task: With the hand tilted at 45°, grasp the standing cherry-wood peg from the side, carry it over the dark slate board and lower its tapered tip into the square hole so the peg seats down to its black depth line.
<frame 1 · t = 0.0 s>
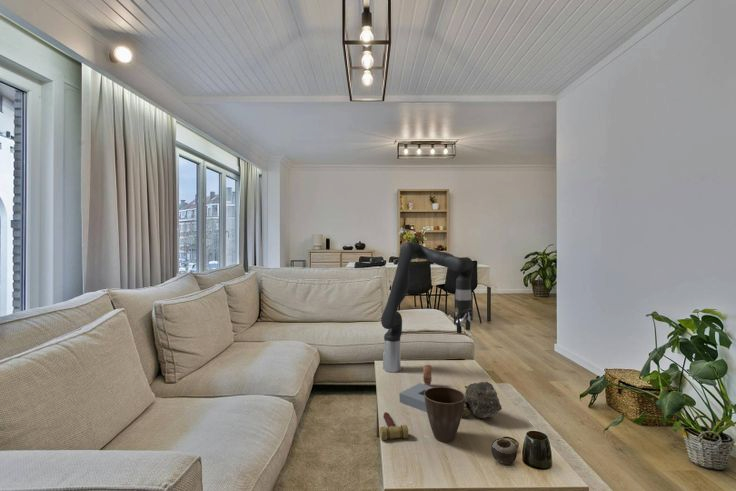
hand: (463, 331, 177), 29 cm above the table, tool pointing down, fingers open, 8 cm apart
cherry peg: (427, 385, 185), on the table
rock: (473, 415, 153), on the table
plant pot: (444, 437, 137), on the table
gavel: (389, 428, 145), on the table
slate socket board: (425, 402, 166), on the table
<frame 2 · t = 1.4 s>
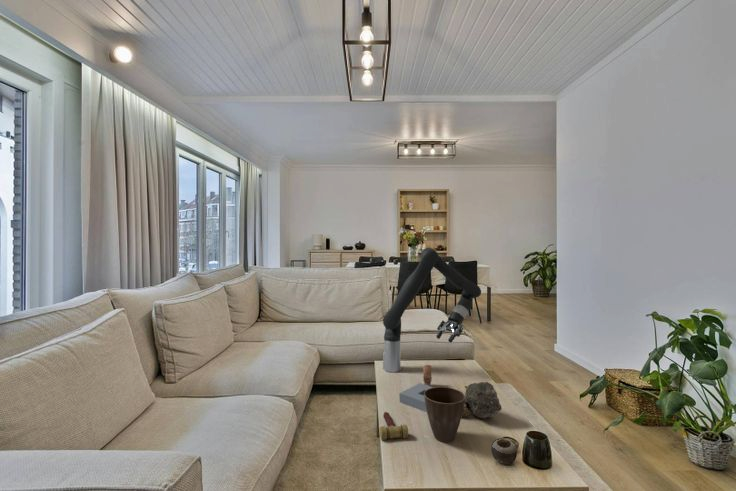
hand: (443, 339, 191), 22 cm above the table, tool tilted 45°, fingers open, 8 cm apart
nothing on the table moved.
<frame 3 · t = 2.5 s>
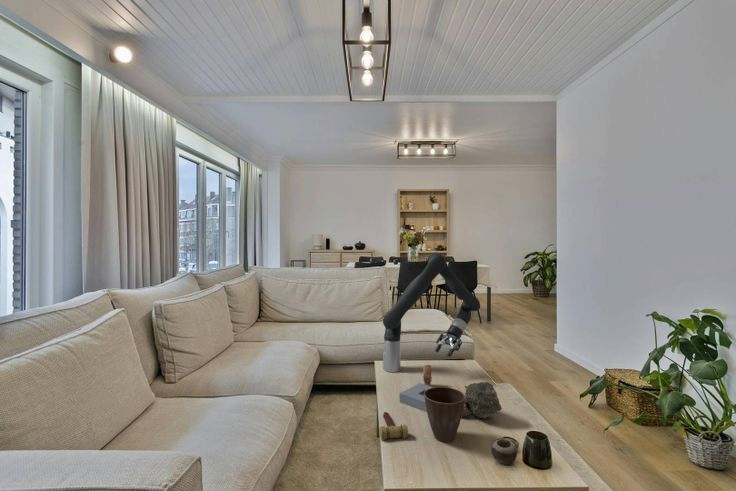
hand: (442, 353, 191), 14 cm above the table, tool tilted 45°, fingers open, 8 cm apart
nothing on the table moved.
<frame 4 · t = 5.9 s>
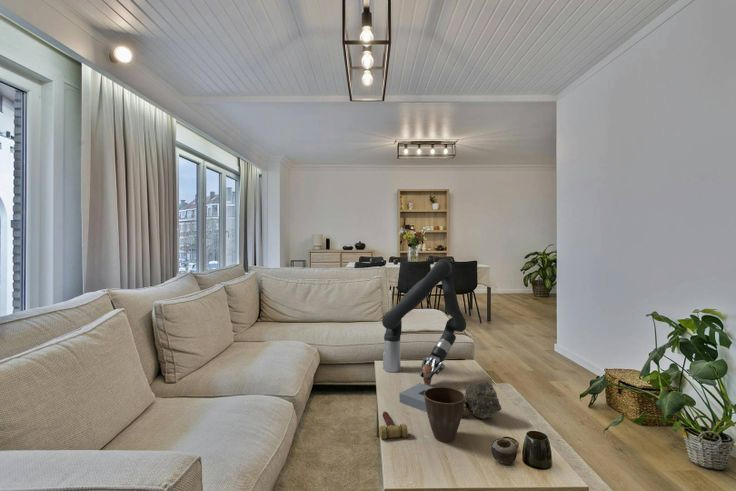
hand: (424, 377, 184), 5 cm above the table, tool tilted 45°, fingers closed on cherry peg, 4 cm apart
cherry peg: (427, 385, 185), on the table, touching gripper
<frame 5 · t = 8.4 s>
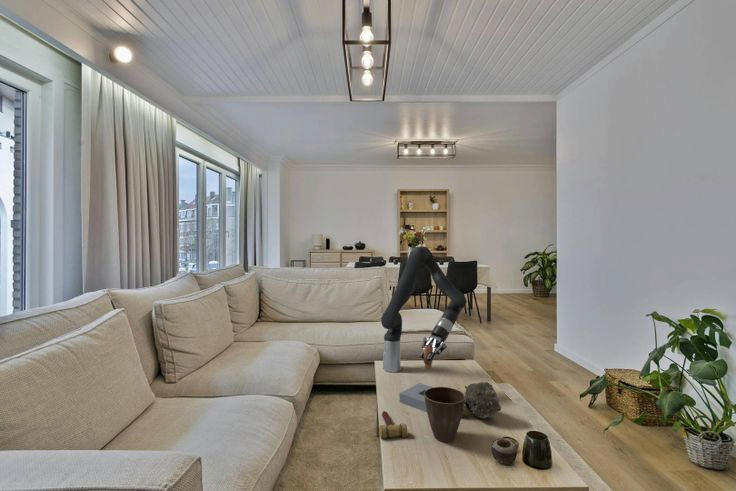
hand: (425, 358, 171), 18 cm above the table, tool tilted 45°, fingers closed on cherry peg, 4 cm apart
cherry peg: (428, 367, 172), point 14 cm above the table, touching gripper
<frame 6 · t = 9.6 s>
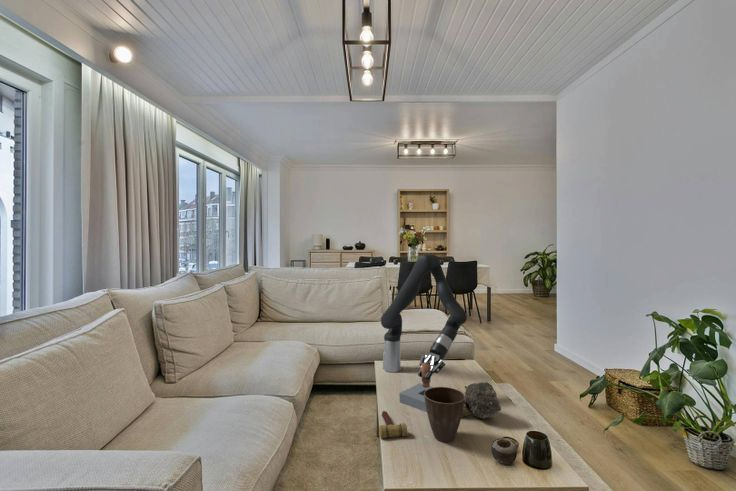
hand: (422, 377, 165), 12 cm above the table, tool tilted 45°, fingers closed on cherry peg, 4 cm apart
cherry peg: (426, 386, 166), point 7 cm above the table, touching gripper
when the fingers open (7 cm above the table, at t = 10.8 s): cherry peg drops 2 cm, resting in slate socket board.
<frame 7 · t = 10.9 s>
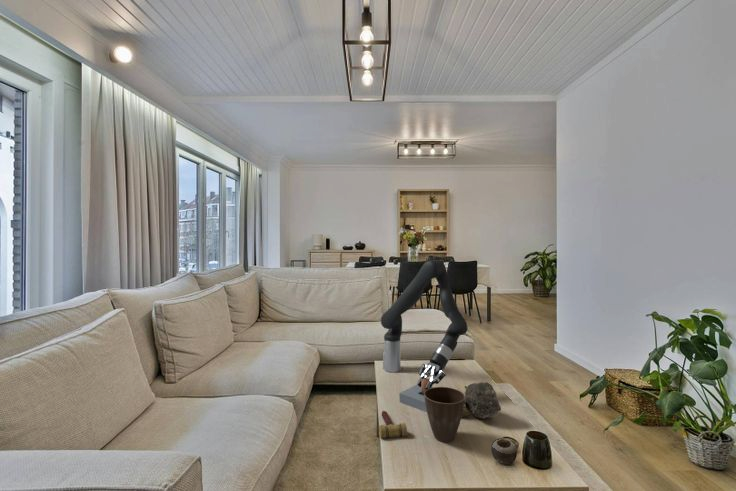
hand: (422, 387, 165), 7 cm above the table, tool tilted 45°, fingers open, 4 cm apart
cherry peg: (426, 401, 166), resting in slate socket board
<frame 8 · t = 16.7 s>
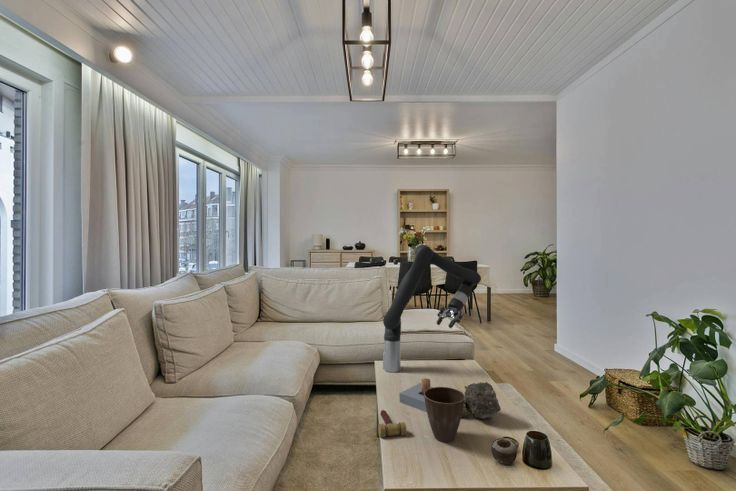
hand: (443, 325, 192), 29 cm above the table, tool tilted 45°, fingers open, 8 cm apart
cherry peg: (426, 401, 166), resting in slate socket board
at the end: cherry peg 0.2 cm off-centre on the slate socket board, point 0.0 cm above the slate socket board's base; cherry peg tilted 0°; the gripper is holding nothing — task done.
